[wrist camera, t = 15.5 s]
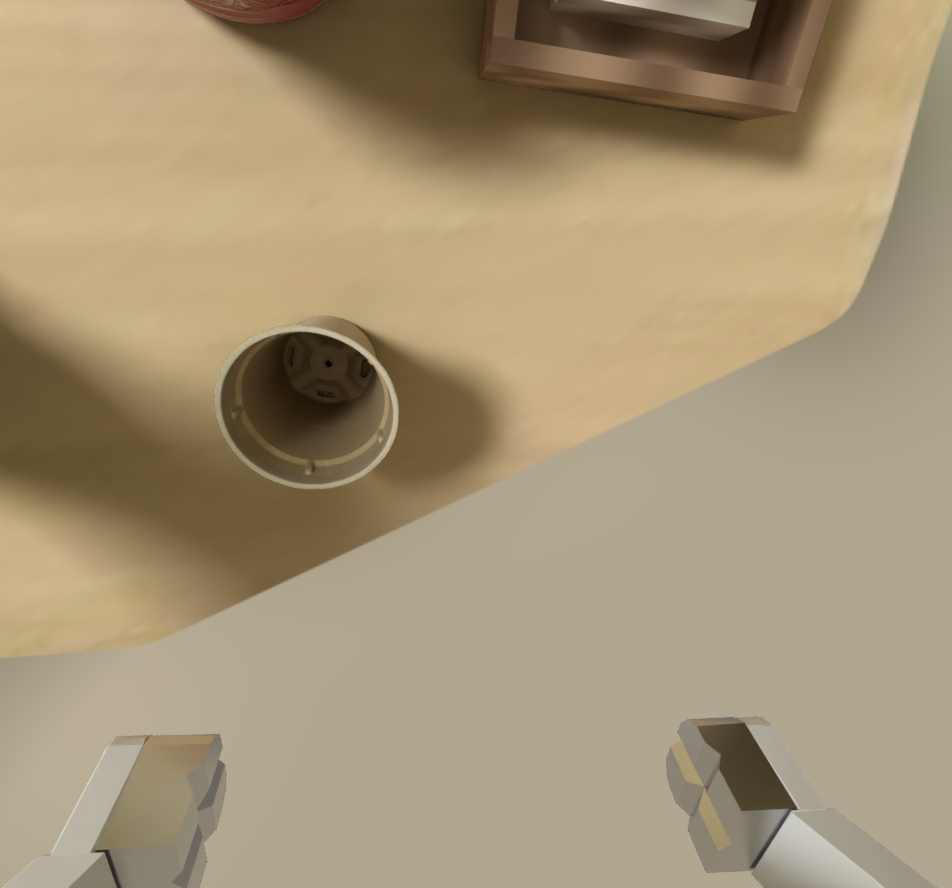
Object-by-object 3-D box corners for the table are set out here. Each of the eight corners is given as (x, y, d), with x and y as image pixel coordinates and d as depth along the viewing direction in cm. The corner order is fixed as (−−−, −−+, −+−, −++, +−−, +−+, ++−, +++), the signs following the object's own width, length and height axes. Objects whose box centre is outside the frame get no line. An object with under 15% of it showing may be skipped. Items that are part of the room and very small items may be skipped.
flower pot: (416, 410, 38) (417, 470, 30) (286, 438, 38) (255, 506, 30) (380, 276, 33) (371, 307, 26) (233, 308, 33) (181, 348, 26)
